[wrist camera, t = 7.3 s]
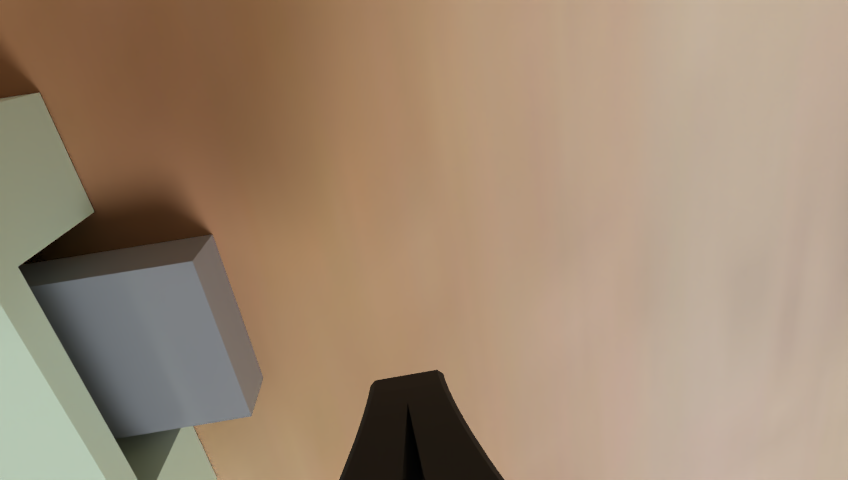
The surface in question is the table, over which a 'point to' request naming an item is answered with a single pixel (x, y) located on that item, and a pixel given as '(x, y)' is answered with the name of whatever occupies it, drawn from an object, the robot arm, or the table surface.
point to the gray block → (152, 334)
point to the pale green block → (36, 340)
